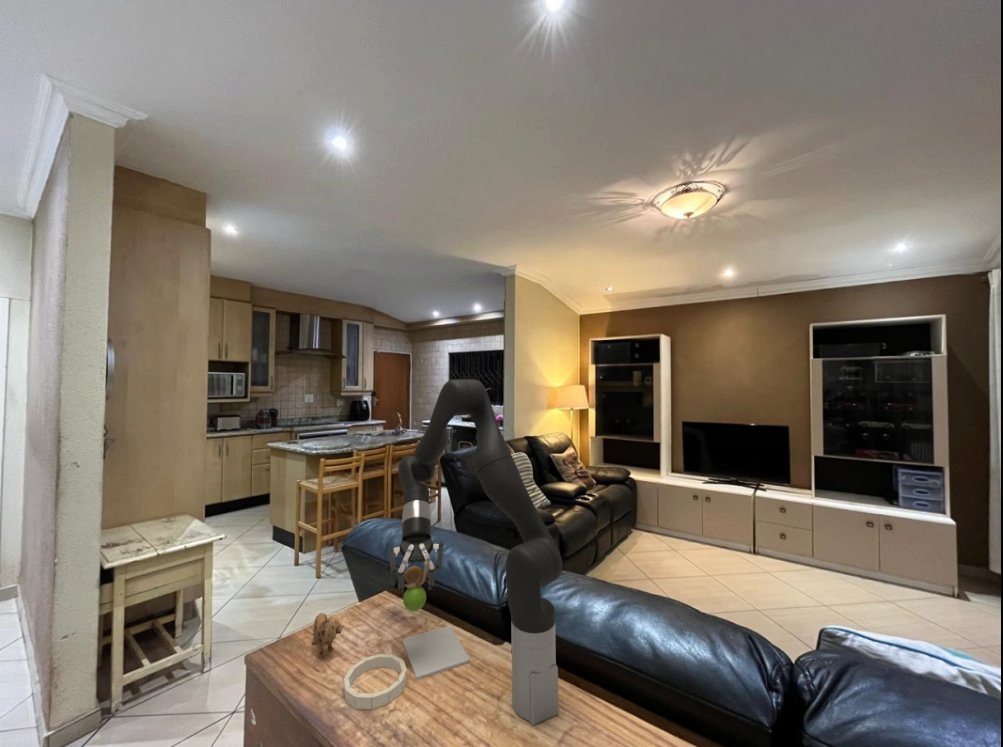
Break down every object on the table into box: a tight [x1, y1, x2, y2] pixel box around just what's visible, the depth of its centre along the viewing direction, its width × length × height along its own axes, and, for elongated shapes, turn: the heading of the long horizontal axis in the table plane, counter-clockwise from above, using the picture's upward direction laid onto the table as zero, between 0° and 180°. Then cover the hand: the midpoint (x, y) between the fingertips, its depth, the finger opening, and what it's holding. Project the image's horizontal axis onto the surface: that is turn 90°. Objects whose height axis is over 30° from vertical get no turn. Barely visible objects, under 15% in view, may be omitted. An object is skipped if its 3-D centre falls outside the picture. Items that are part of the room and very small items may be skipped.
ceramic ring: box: [343, 653, 408, 710], centre depth 88 cm, size 13×13×2 cm
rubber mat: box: [402, 625, 471, 681], centre depth 99 cm, size 15×13×1 cm
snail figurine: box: [402, 555, 431, 612], centre depth 96 cm, size 5×6×12 cm
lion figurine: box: [311, 612, 344, 658], centre depth 102 cm, size 15×5×9 cm, turn 44°
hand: (416, 589), depth 94 cm, fingers closed on snail figurine, 6 cm apart
